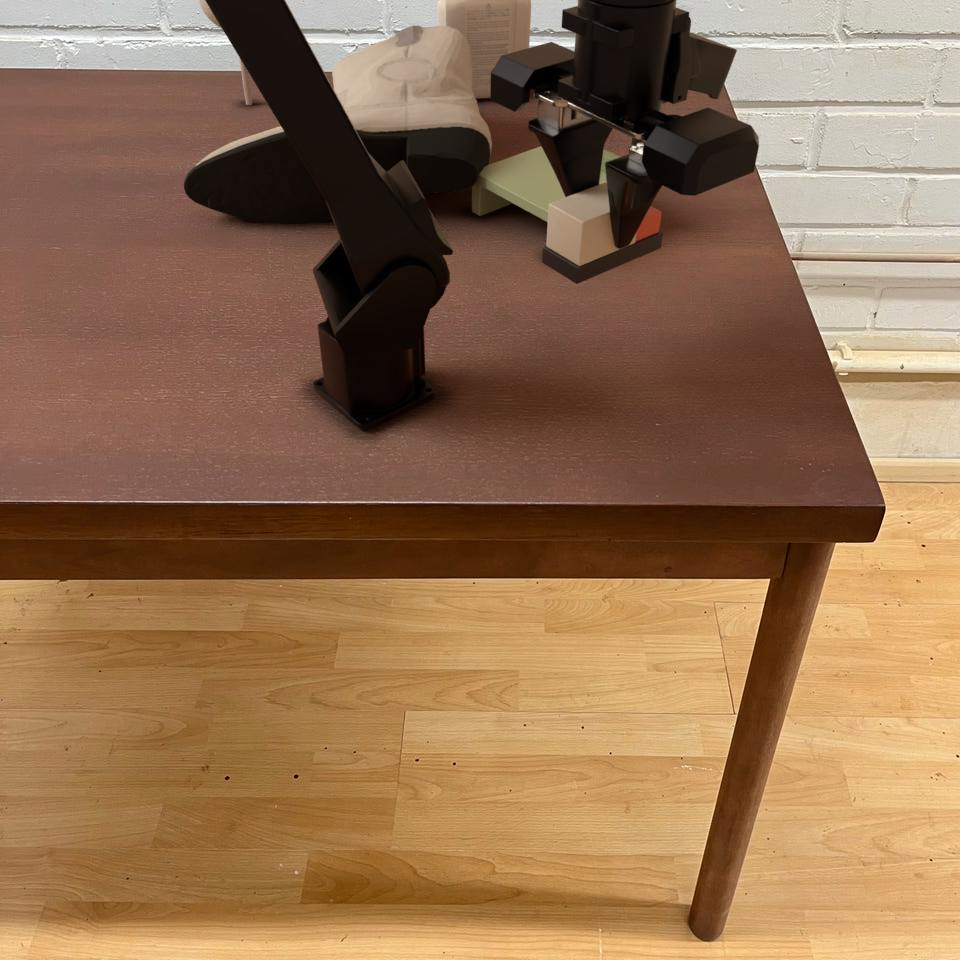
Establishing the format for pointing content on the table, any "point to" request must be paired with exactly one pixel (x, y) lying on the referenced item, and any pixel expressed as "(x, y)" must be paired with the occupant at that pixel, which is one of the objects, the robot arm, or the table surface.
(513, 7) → the white printed package
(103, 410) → the table surface
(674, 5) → the robot arm
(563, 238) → the block
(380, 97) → the cowboy boot
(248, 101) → the lollipop
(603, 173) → the shoe shelf
